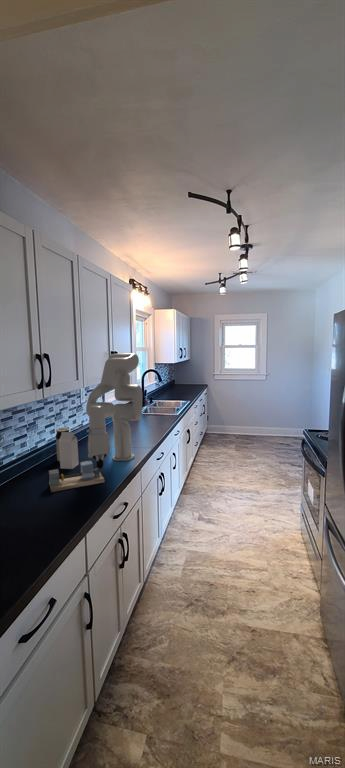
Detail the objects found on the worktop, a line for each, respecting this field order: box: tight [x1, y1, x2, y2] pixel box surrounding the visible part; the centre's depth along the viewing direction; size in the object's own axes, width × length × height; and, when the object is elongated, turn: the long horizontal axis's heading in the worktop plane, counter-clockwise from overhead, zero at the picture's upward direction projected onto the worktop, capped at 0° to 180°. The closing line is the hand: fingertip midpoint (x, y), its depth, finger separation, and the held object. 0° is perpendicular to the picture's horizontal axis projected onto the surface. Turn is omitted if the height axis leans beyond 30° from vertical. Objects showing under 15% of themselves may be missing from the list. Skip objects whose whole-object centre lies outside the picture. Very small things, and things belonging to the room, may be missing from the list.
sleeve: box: [79, 460, 95, 480], centre depth 166 cm, size 6×5×7 cm
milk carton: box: [59, 431, 80, 470], centre depth 187 cm, size 7×7×19 cm
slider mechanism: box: [48, 467, 106, 493], centre depth 164 cm, size 10×24×8 cm, turn 114°
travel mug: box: [55, 427, 70, 462], centre depth 199 cm, size 8×8×18 cm
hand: (100, 467), depth 168 cm, fingers closed
